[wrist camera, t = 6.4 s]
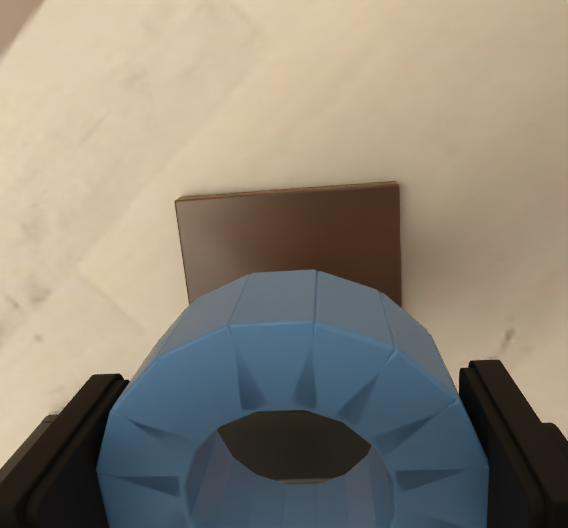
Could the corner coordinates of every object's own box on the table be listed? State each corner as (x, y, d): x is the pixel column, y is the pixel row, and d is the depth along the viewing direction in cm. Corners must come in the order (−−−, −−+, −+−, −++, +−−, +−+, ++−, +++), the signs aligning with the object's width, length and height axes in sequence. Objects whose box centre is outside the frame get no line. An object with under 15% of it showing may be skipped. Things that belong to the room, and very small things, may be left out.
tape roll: (121, 279, 11) (61, 332, 8) (455, 260, 10) (498, 311, 8) (170, 537, 13) (132, 642, 10) (451, 536, 12) (483, 648, 10)
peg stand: (179, 197, 19) (127, 231, 14) (396, 180, 19) (428, 210, 13) (206, 387, 22) (169, 478, 16) (400, 378, 21) (428, 471, 16)
